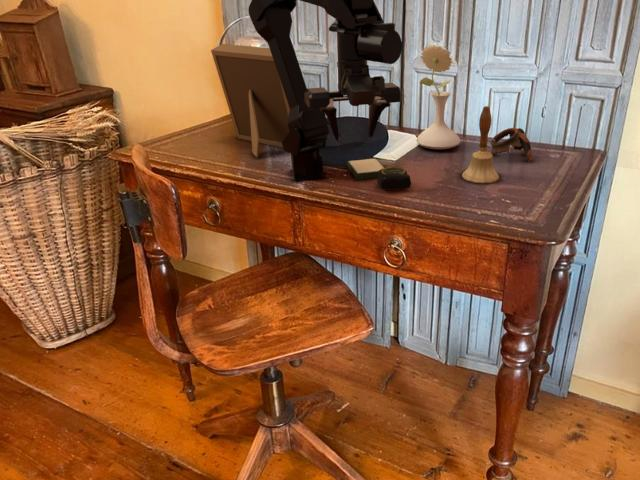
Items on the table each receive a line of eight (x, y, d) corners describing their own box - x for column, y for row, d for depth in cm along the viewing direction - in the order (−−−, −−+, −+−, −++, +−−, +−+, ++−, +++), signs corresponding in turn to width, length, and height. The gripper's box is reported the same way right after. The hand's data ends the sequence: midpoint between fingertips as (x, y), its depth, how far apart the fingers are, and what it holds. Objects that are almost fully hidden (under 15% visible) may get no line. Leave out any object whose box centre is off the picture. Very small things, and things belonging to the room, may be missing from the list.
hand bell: (498, 184, 127) (507, 112, 119) (461, 182, 128) (466, 110, 120) (498, 172, 134) (506, 102, 126) (462, 170, 135) (468, 101, 127)
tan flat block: (357, 180, 130) (356, 173, 129) (347, 167, 138) (347, 161, 137) (386, 176, 132) (386, 170, 131) (375, 164, 139) (375, 158, 138)
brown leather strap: (531, 167, 137) (517, 139, 134) (495, 178, 143) (481, 150, 140) (541, 141, 145) (528, 114, 141) (507, 152, 151) (494, 126, 147)
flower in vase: (468, 147, 150) (476, 46, 138) (438, 156, 144) (444, 51, 132) (432, 136, 159) (437, 40, 147) (403, 144, 153) (405, 45, 141)
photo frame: (248, 134, 163) (237, 41, 151) (309, 146, 153) (303, 46, 140) (210, 148, 152) (195, 48, 140) (273, 161, 142) (263, 55, 130)
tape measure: (379, 194, 123) (379, 177, 121) (374, 182, 128) (374, 166, 127) (410, 192, 123) (411, 175, 121) (404, 181, 129) (405, 165, 127)
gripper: (312, 68, 101) (317, 154, 109) (412, 62, 105) (410, 145, 113) (301, 58, 110) (306, 138, 118) (393, 53, 114) (392, 130, 122)
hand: (354, 138), depth 117 cm, fingers open, 7 cm apart
